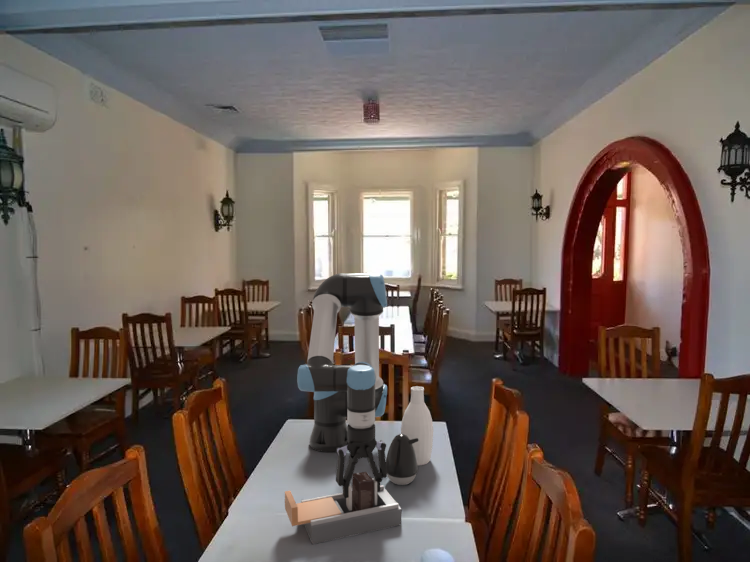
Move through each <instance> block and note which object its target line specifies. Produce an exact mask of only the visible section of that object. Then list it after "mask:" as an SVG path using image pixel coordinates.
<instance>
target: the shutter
mask: <svg viewBox="0 0 750 562" xmlns="http://www.w3.org/2000/svg"><path fill="white" fill-rule="evenodd" d="M284 510H285V512H286V515H287V517H288V520H289V522H290V525H291V527H295V526H296V527H297V526H300V525H304V524H306V523H311V520H315V519H320V518H325V517H330V516H335V515H340V514H341V512H340V510H339V508H338V507H337V505H336V503H335V502H334V500H333V498H332V497H329V498H323V499H318V500H313V501H308V502H302V503H301V502H297V503H296V500H295V498H294V496H293V493H292V491H291V490H286V491H284Z"/></svg>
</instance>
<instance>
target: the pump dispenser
mask: <svg viewBox="0 0 750 562" xmlns="http://www.w3.org/2000/svg"><path fill="white" fill-rule="evenodd" d="M393 437H394V438H393V439H392V440H391V442H390V444H389V447H388V450H387V453H386V457H385V460H386V470H387V478H388V479H389V481H390V482H391V483H393V484H395V485H398V486H405V485H408V484H410V483H413V481H414V480H415V479H416V476H417V474H418V472H419V471H418V469H419V467H418V465H417V458H416V454H415V450H414V447H413V445H412V444H413V443H415V442H418V438H415V439H411V440H410V439H409V438H408V436H406V435H404V434H401V433H399V434H396V435H395V436H393Z"/></svg>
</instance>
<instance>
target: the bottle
mask: <svg viewBox="0 0 750 562" xmlns="http://www.w3.org/2000/svg"><path fill="white" fill-rule="evenodd" d="M424 391H425V388H424V386H418V385H416V386H412V387H410V400H411V402H410V401H409V403H408V405H407V407H406V408H405V410H404V413H403V417H402V420H401V426H400V434H404V435H406V436H408V438H409V439H410V440H411V439H415V438H418V442H415V443H413V444H412V445H413V447H414V450H415V454H416V458H417V465H418V466H425V465H427V464H428V463H429V462H430V461H431V458H432V451H433V446H434V445H433V444H434V425H433V419H432V415H431V411H430V409H429V408H428V406H427V405H426V403H425V396H424V395H425V394H424V393H425V392H424Z"/></svg>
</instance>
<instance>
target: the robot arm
mask: <svg viewBox="0 0 750 562" xmlns="http://www.w3.org/2000/svg"><path fill="white" fill-rule="evenodd" d="M311 304H312V305H311V307H312V309H313V318H312V325H311V332H310V339H309V346H308V352H307V353H308V354H307V360H306V363H305V364H300V365H299V367H298V368H297V376H296V377H297V379H296V381H297V388H298V389H299V391H301V392H311V393H313V397H312V398H313V412H314V413H313V418H314V419H313V420H314V421H313V422H314V424H313V428H312V430H311V433H310V437H309V447H310V448H311V449H313V450H314V451H318V452H323V453H324V452H325V453H333V452H336V453H337V463H336V471H335V472H336V474H335V475H336V476H335V482H336V483H337V485H338V486H339V487H342V493H343V496H344V497H345V498H346V506H347V508H348V509H349V511H350V510H352V485H351V481H352V479H353V473H354V471H355V468H356V465H357V463H358V462H359V460H361V459H363V458H364V459H367V461H368V463H369V464H368V465H369V467H370V470H371V472H372V475H373V477H371V478H372V479H373V480H374V483H373V504H374V505H377V492H379V491H380V485H381V482H382V481H383V479H385V478H388V476H387V470H386V452H385V451H386V448H387V444H386V443H385V442H384V440H382V439H380V440H379V441H378V440H377V439H376V424H375V423H376V418H378V417H379V418H380V417H383V415H384V414H385V410H386V405H387V395H388V386H387V384H385V383H384V380H383V379H382V377H380V366H379V365H380V361H379V360H380V316H381V315H382V314H383V312H384V309H385V308H387V307H388V298H387V290H386V282H385V279H384V276H383V274H381V273H373V272H363V273H361V272H360V273H359V272H358V273H357V272H356V273H355V272H353V273H351V272H350V273H344V272H341V273H336V274H332V275H331V276H329V277H327V278H326V279H324V281H322V282H321V284H320V285H319V286H318V287H317V289H316V290H315V292H314V293H313V298H312V302H311ZM341 308H349V313H350V314H351V315H352V316H353V317H354V364H334V354H335V353H334V352H335V341H336V330H337V319H338V313H339V312H340V311H341ZM375 448H376V450H377V457H378V467H377V463H376V461H375V457H374V454H373V451H374V450H375ZM347 451H348V452H349V456H348V461H347V465H346V469H345V461H346V459H345V458H346V455H347Z"/></svg>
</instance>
